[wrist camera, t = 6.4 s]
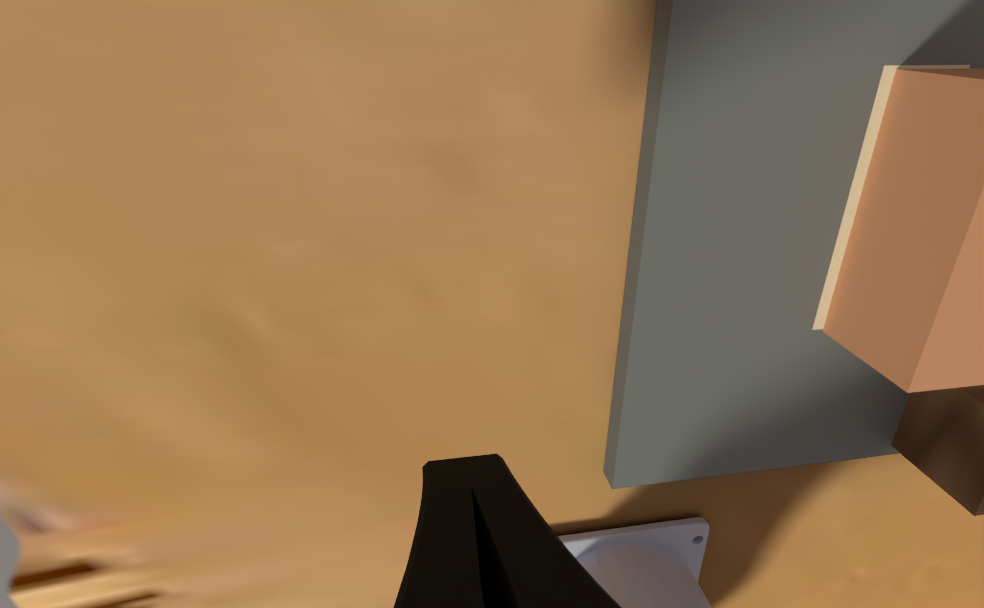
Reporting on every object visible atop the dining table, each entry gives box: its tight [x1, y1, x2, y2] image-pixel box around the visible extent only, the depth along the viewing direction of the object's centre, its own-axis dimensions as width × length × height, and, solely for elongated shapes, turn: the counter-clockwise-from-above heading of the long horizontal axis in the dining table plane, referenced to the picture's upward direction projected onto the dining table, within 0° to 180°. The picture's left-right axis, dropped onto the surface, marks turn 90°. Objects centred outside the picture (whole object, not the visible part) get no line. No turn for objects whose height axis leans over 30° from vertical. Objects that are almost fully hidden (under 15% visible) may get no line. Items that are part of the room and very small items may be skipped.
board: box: [604, 0, 984, 489], centre depth 22 cm, size 18×17×1 cm
